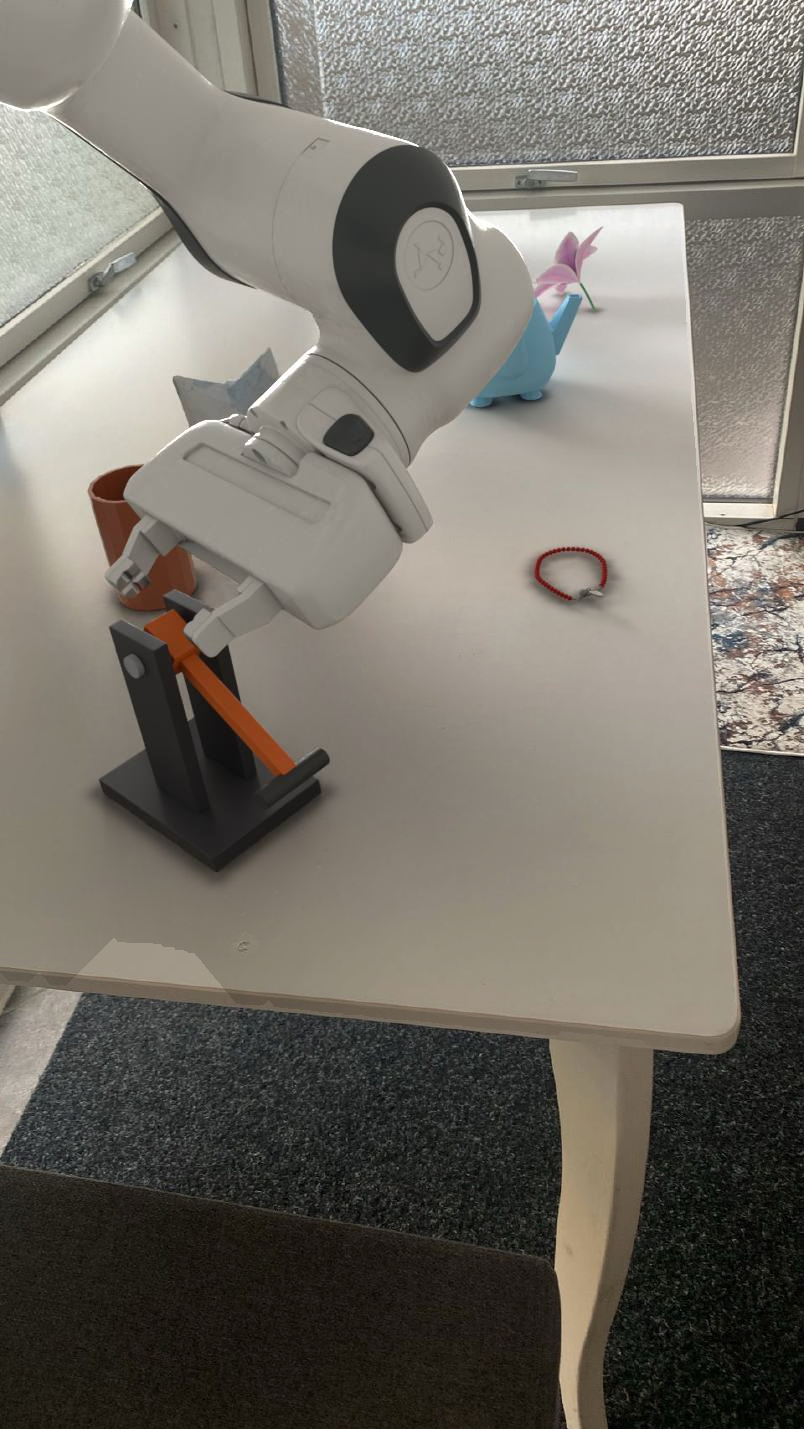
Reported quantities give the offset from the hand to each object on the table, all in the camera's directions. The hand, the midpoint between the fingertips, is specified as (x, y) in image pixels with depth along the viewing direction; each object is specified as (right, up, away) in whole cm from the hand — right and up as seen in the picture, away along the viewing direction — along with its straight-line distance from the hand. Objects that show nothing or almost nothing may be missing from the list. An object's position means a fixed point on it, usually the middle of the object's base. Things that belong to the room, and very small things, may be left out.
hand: (153, 616), depth 63 cm
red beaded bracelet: (+28, +5, +28) cm, 40 cm away
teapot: (+25, +30, +60) cm, 72 cm away
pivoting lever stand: (+1, -11, +11) cm, 16 cm away
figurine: (0, +14, +43) cm, 45 cm away
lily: (+35, +46, +79) cm, 98 cm away
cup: (-7, +5, +33) cm, 34 cm away
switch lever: (+3, -6, +4) cm, 8 cm away
